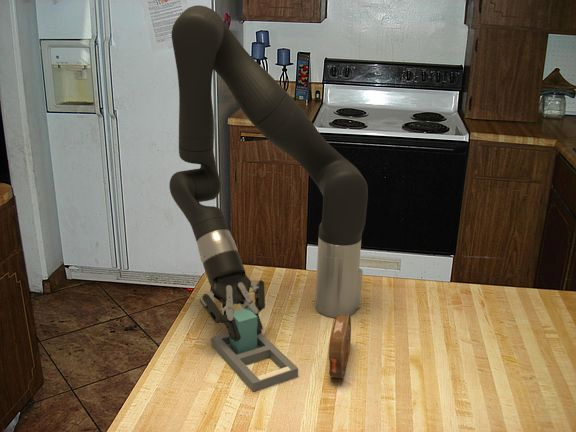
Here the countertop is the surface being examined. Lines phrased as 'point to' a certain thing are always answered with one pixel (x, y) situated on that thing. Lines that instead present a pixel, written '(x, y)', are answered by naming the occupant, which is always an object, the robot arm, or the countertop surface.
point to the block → (245, 331)
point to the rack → (255, 355)
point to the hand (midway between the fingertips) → (248, 336)
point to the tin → (340, 346)
